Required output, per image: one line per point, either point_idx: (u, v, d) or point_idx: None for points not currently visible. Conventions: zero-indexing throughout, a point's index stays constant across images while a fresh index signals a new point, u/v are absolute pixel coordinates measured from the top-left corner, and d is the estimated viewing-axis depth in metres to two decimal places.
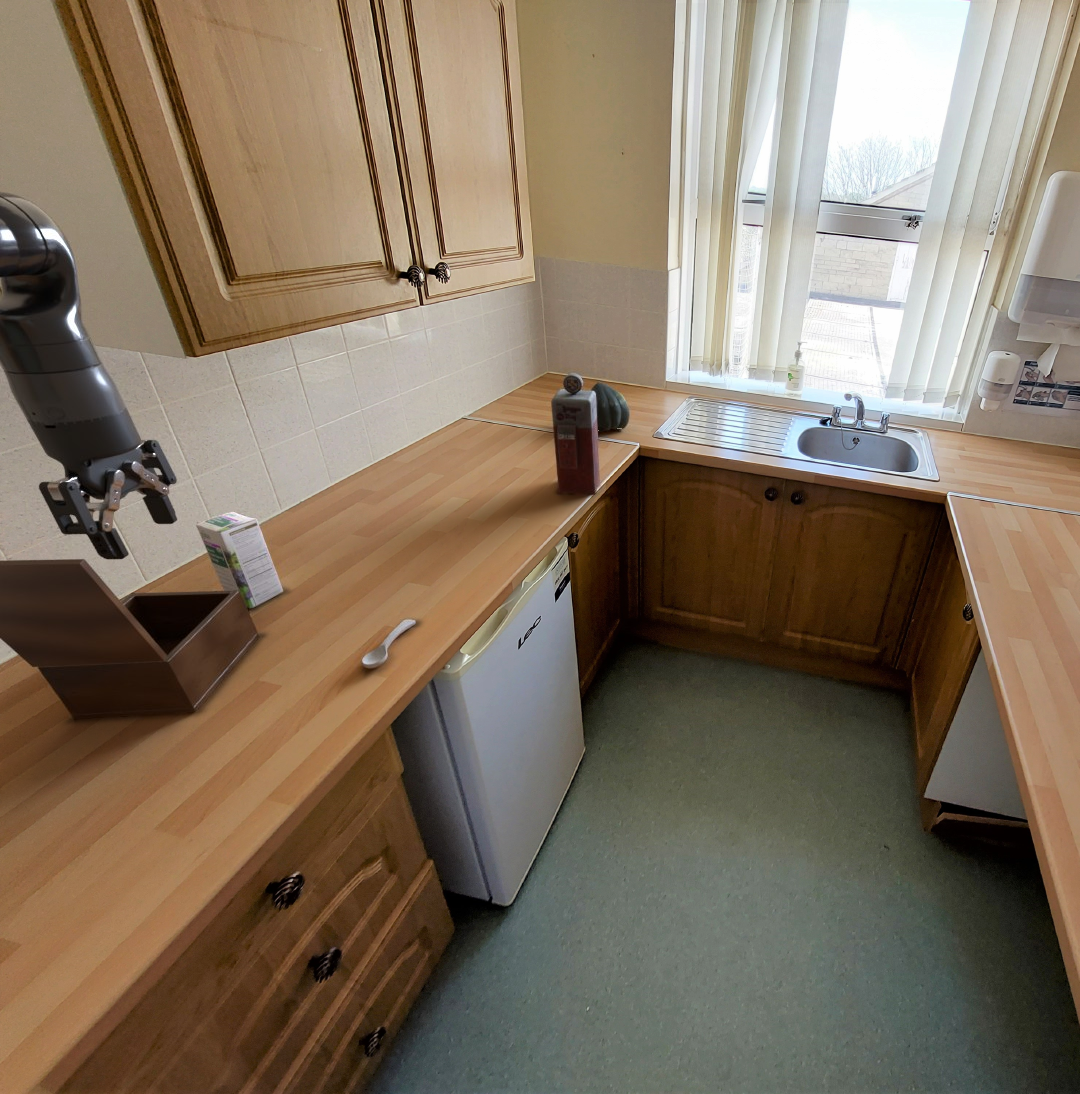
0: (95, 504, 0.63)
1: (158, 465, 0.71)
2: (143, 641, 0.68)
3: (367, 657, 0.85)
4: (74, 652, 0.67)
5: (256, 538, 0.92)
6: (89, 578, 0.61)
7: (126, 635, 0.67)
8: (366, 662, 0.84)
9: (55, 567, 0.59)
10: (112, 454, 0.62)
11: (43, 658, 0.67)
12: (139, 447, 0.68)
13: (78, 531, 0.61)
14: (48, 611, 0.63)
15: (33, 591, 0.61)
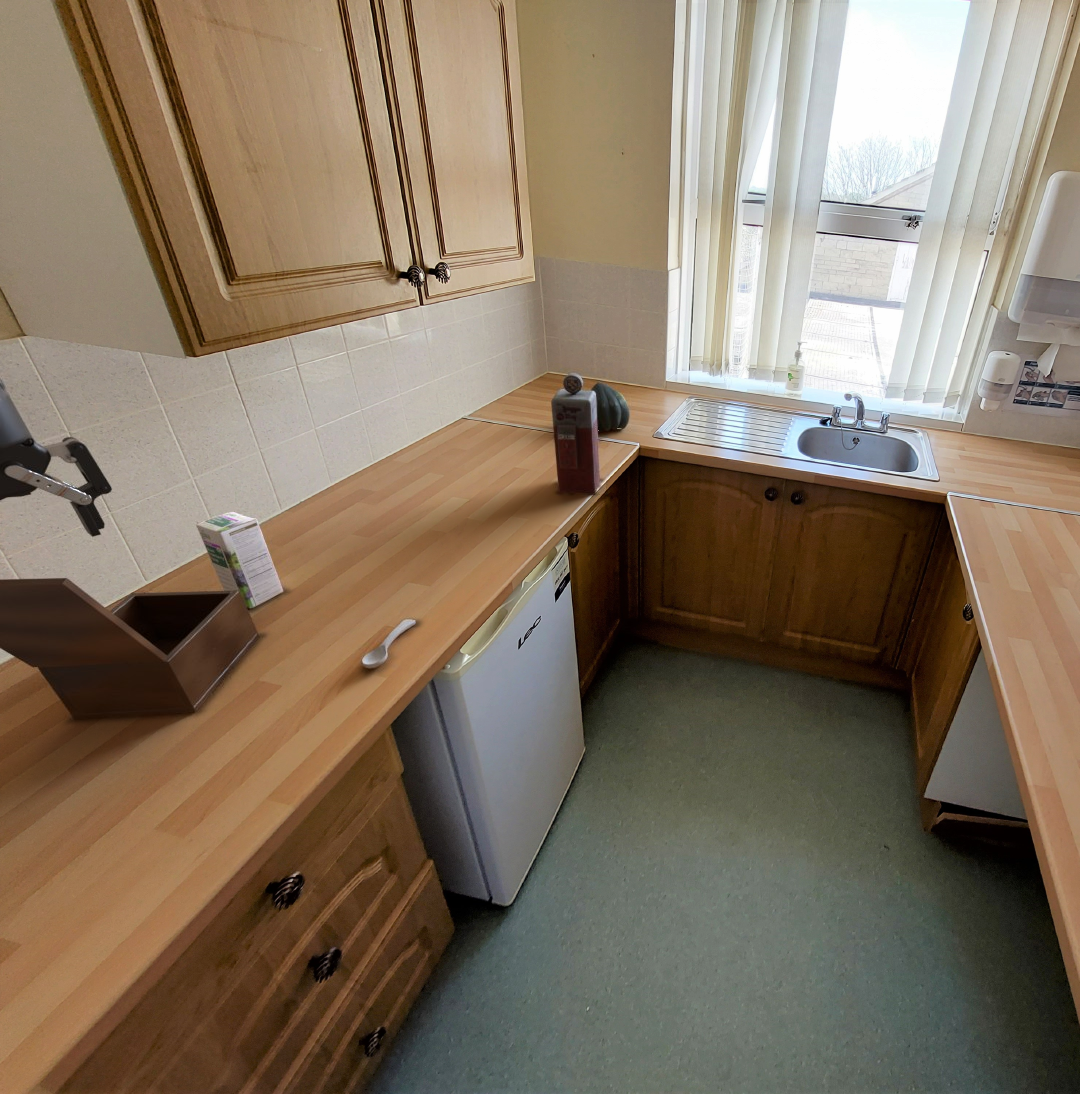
0: None
1: (83, 471, 0.60)
2: (141, 646, 0.67)
3: (367, 657, 0.85)
4: (72, 655, 0.67)
5: (256, 538, 0.92)
6: (75, 595, 0.59)
7: (122, 641, 0.66)
8: (366, 662, 0.84)
9: (38, 587, 0.58)
10: None
11: (42, 660, 0.67)
12: (57, 447, 0.58)
13: None
14: (39, 623, 0.62)
15: (20, 607, 0.60)
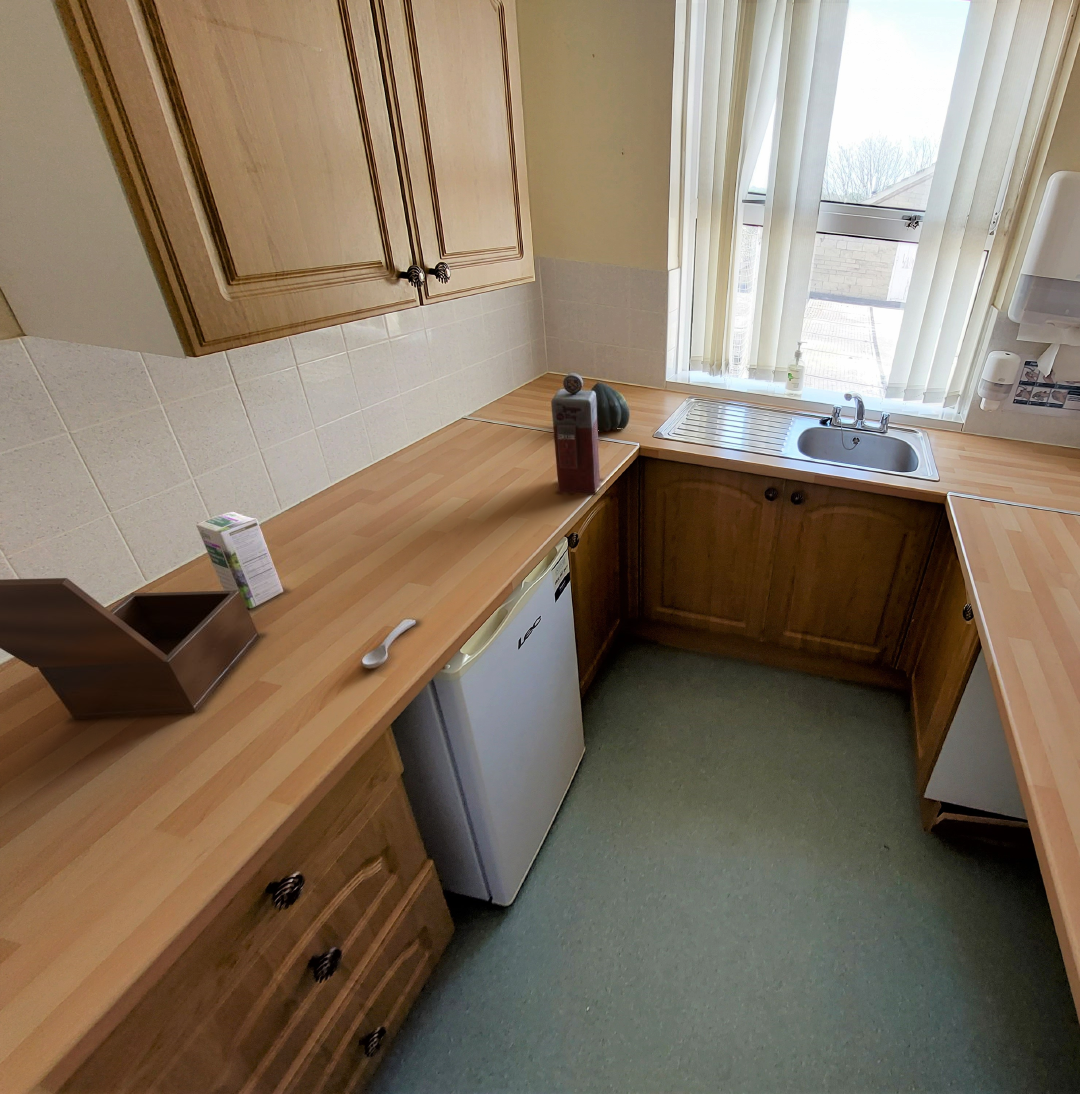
0: None
1: None
2: (141, 646, 0.67)
3: (367, 657, 0.85)
4: (72, 655, 0.67)
5: (257, 538, 0.92)
6: (75, 595, 0.59)
7: (122, 641, 0.66)
8: (366, 662, 0.84)
9: (38, 587, 0.58)
10: None
11: (42, 660, 0.67)
12: None
13: None
14: (39, 623, 0.62)
15: (20, 607, 0.60)
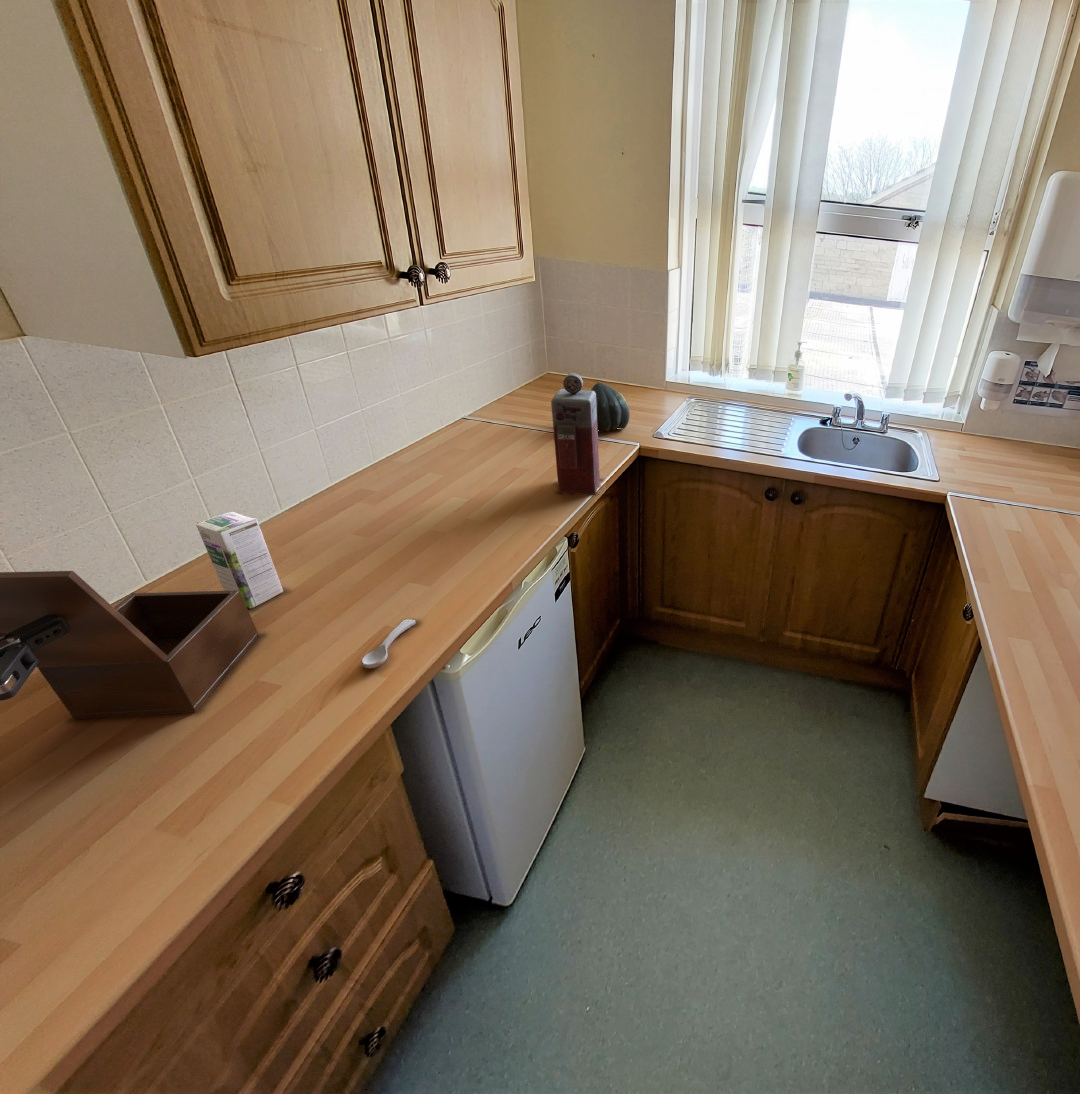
0: None
1: None
2: (142, 644, 0.67)
3: (367, 657, 0.85)
4: (73, 654, 0.67)
5: (256, 538, 0.92)
6: (80, 589, 0.60)
7: (123, 639, 0.66)
8: (366, 662, 0.84)
9: (44, 579, 0.58)
10: None
11: (42, 659, 0.67)
12: None
13: None
14: None
15: (24, 601, 0.60)
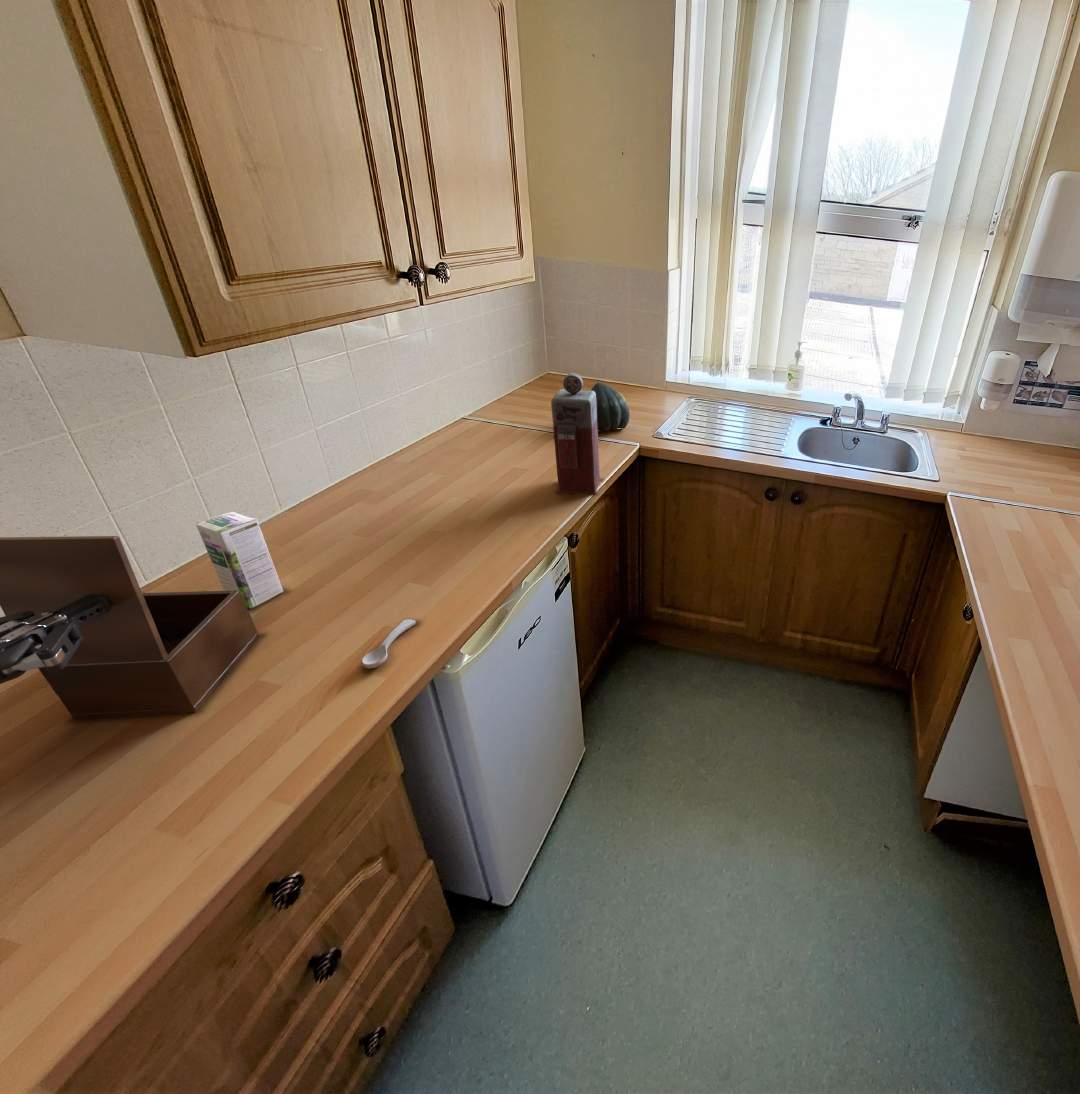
0: None
1: None
2: (149, 634, 0.69)
3: (367, 657, 0.85)
4: (78, 647, 0.68)
5: (257, 538, 0.92)
6: (118, 555, 0.64)
7: (135, 626, 0.68)
8: (366, 662, 0.84)
9: (90, 542, 0.63)
10: None
11: None
12: (34, 667, 0.57)
13: None
14: (68, 595, 0.65)
15: (61, 570, 0.64)
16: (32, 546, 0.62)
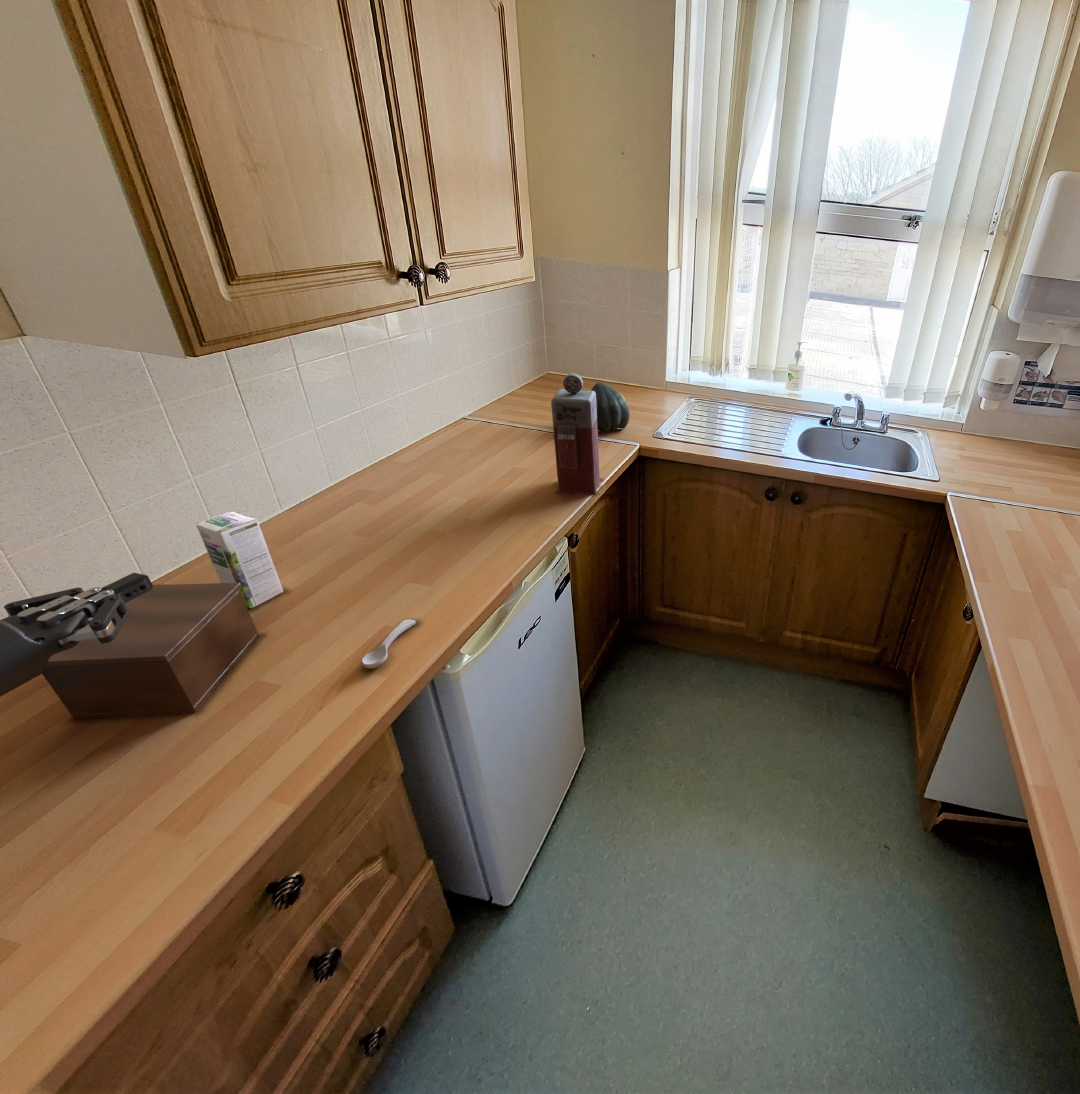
0: None
1: None
2: (181, 636, 0.73)
3: (367, 657, 0.85)
4: (102, 647, 0.71)
5: (257, 538, 0.92)
6: (230, 590, 0.82)
7: (177, 631, 0.74)
8: (366, 662, 0.84)
9: (220, 584, 0.83)
10: None
11: (64, 652, 0.70)
12: (87, 638, 0.61)
13: None
14: (155, 612, 0.77)
15: (174, 598, 0.80)
16: (175, 587, 0.82)
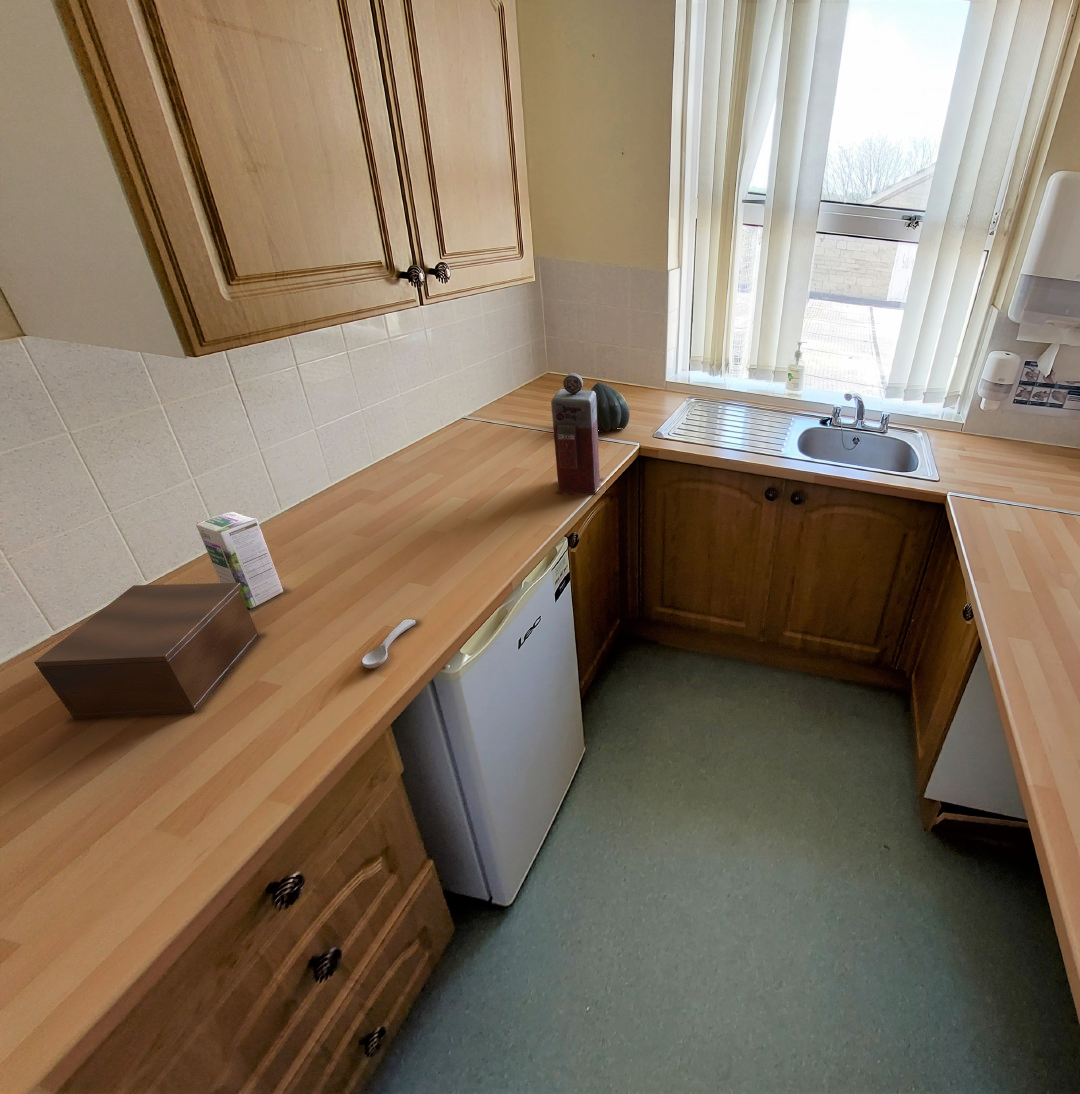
0: None
1: None
2: (181, 636, 0.73)
3: (367, 657, 0.85)
4: (102, 647, 0.71)
5: (256, 538, 0.92)
6: (230, 590, 0.82)
7: (177, 631, 0.74)
8: (366, 662, 0.84)
9: (220, 584, 0.83)
10: None
11: (64, 652, 0.70)
12: None
13: None
14: (155, 612, 0.77)
15: (174, 598, 0.80)
16: (175, 587, 0.82)
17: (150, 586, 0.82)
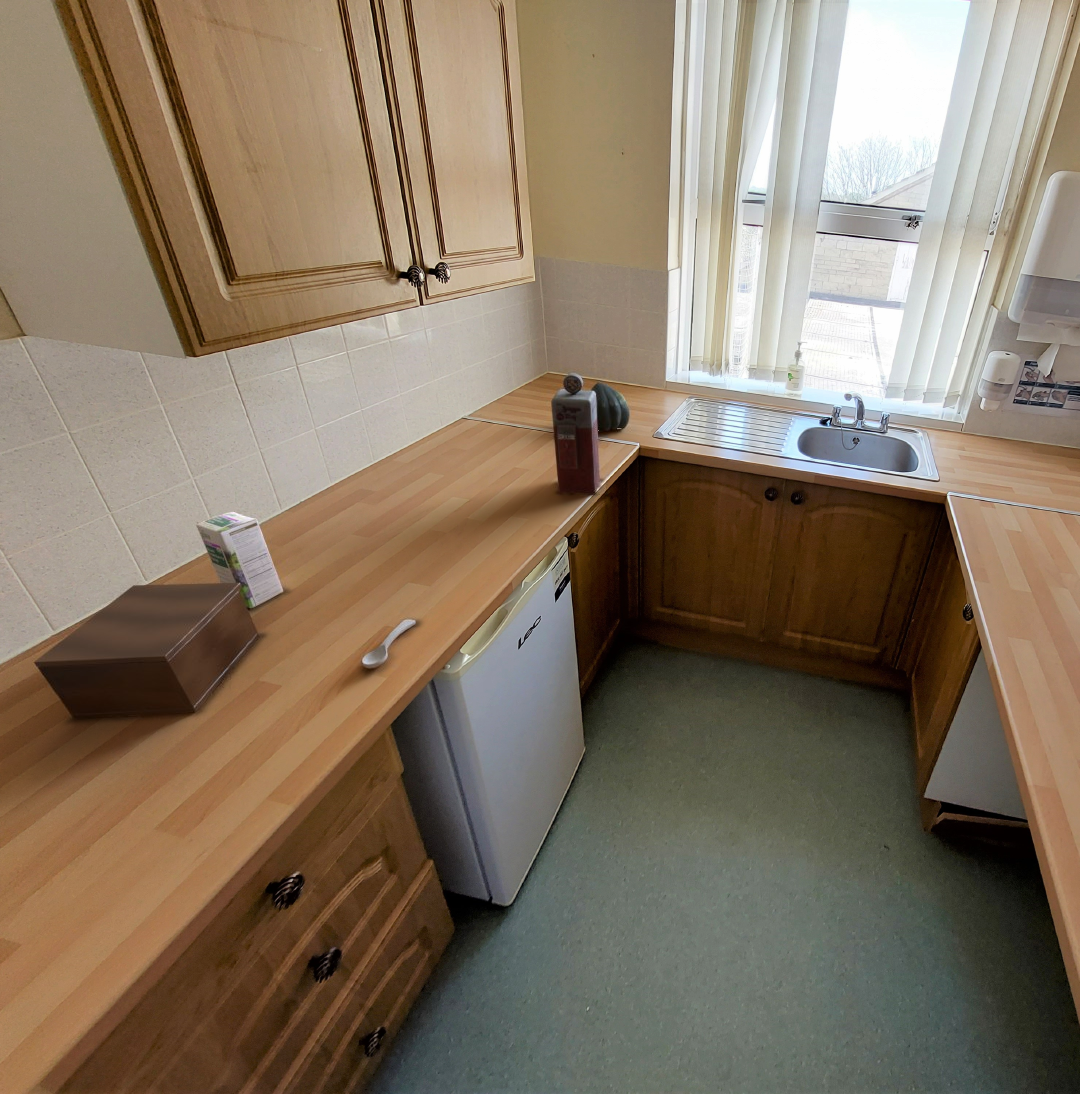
0: None
1: None
2: (181, 636, 0.73)
3: (367, 657, 0.85)
4: (102, 647, 0.71)
5: (256, 538, 0.92)
6: (230, 590, 0.82)
7: (177, 631, 0.74)
8: (366, 662, 0.84)
9: (220, 584, 0.83)
10: None
11: (64, 652, 0.70)
12: None
13: None
14: (155, 612, 0.77)
15: (174, 598, 0.80)
16: (175, 587, 0.82)
17: (150, 586, 0.82)
